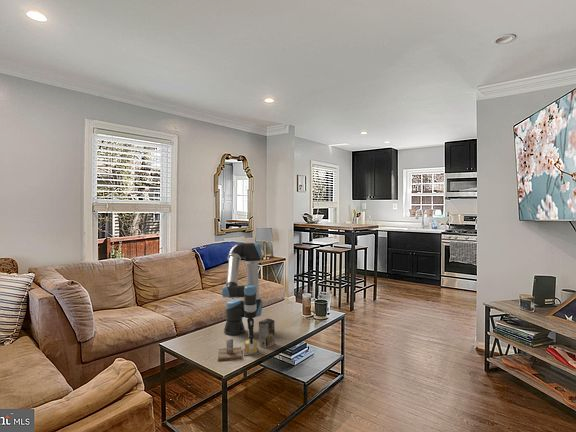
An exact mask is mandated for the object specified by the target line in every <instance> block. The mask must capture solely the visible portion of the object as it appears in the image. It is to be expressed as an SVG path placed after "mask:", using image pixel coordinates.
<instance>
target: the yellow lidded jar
mask: <svg viewBox="0 0 576 432" xmlns="http://www.w3.org/2000/svg"><path fill="white" fill-rule="evenodd" d="M257 347H258V341H257V340H256V339H254V348H253V349H249V340H248V339H246V340H245V341H244V348H245V353H248V354H253V353H255V352H257Z"/></svg>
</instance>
